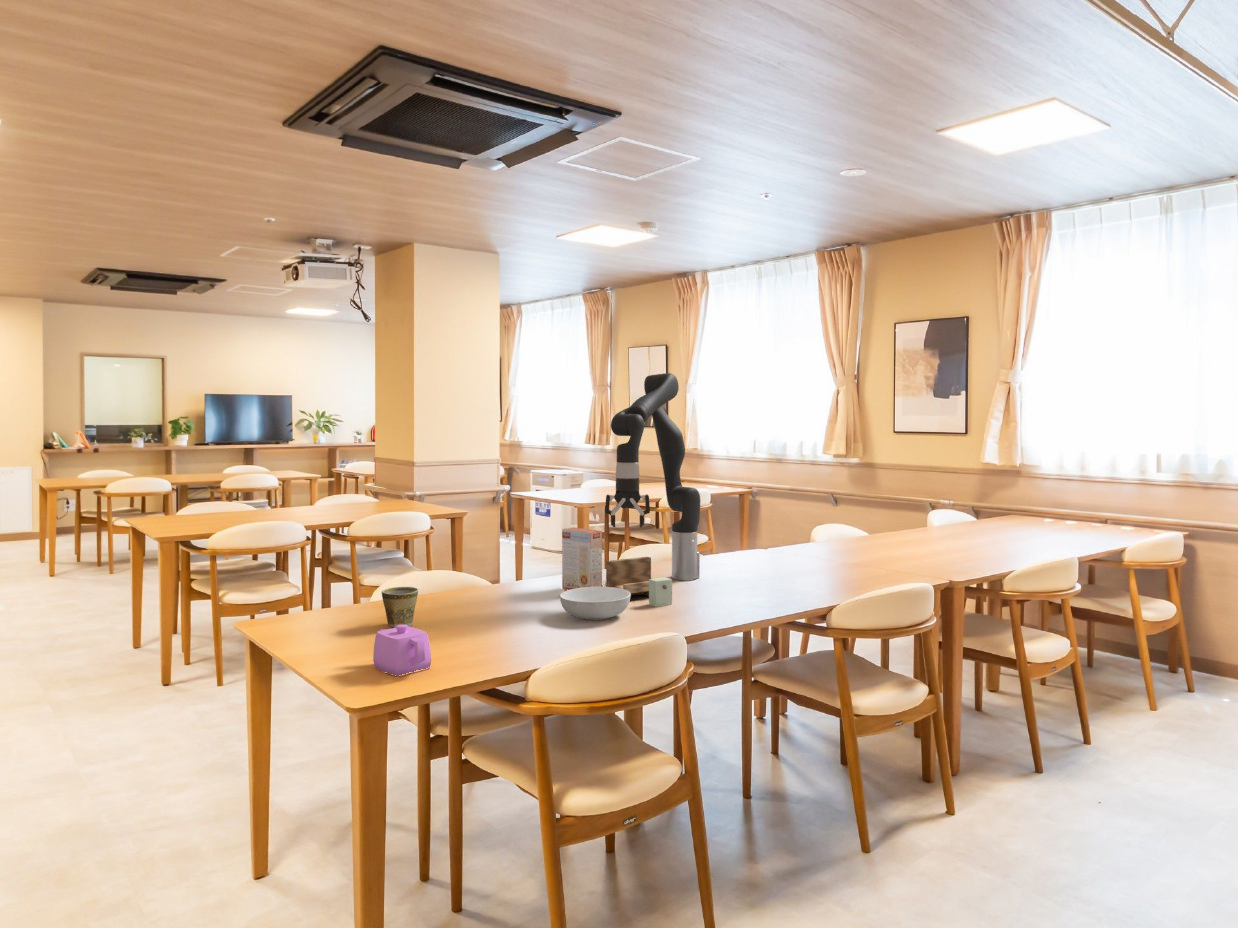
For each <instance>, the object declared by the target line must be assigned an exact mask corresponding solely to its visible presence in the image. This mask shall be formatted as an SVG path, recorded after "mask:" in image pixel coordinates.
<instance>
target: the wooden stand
mask: <svg viewBox="0 0 1238 928" xmlns="http://www.w3.org/2000/svg"><path fill="white" fill-rule="evenodd" d="M605 573H606V575H605V587H614V588H620V589H624V590H627V591H629V592H630V594H631V596H630V597H632V596H633V597H634V596H640V595H644V596H648V597H649V579H652V557H650V556H641V557H632V558H622V559H621V558H620V559H613V560H611V559H610V560H606V562H605Z"/></svg>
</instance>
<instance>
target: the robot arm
mask: <svg viewBox="0 0 1238 928" xmlns="http://www.w3.org/2000/svg"><path fill="white" fill-rule="evenodd" d="M678 381H679V380H678V378H677V376H676V375H675V374H674V373H670V372H667V373H666V372H665V373H657V374H650V375H647V376H646V377H645V378H644V384H643V387H644V388H643V389H644V394H645V395H643V396H640V397H638V398H637V399H636V400H635V401H634V402H632V404H631V405H630V406H629V407H627V408H624V409H622V410H620V411H618V412H617V413H616V414H614V416H613V417H612V419H611V421H610V429H611V431H612V433H613V434H614V435H616V436H619V437H630V438H629V439H628V441H627V442H625V443H620V444H618V445H617V446H616V467H615V494H614V495H613V494H606V495H605V509H604V512H605V514H608V515H610V525H611V527H612V528H616V513H617V512H618V511H619V510H620V508H621V509H634V508H635V509H636V511H637V512H638V513H639V528H643V526H644V525H645V515H648V514H650V513H651V507H650V496H649V494H647V493H646V494H642V495H641V494H640V476H641V475H640V464H639V459H640V458H639V451H640V445H641V441H642V436H643V434H644V430H645V423H646V421H648V419H649V418H650V417H651V419H652V420H653V425H654V426H653V427H654V431H655V435H656V436H655V437H656V441H657V446H658V447H657V448H658V450H659V455H660V459H661V465H662V470H663V477H664V483H665V494H666V502H667V505H668V507H669V508H670V509H671V510H672V511H673V512H678V513H681V517H680V520H677V521H674V522H673V523H672V525H671V579H672V580H673V579H674V580H675V581H676V580H677V581H693V580H697V579H700V561H701V560H700V558H701V556H700V555H701V554H700V551H698V530H699V529H698V528H699V524H700V518H701V494H700V492H699V491H698V489H697V488H695V487H690V486H688V487H687V486H683V484H682V479H681V468H682V465H683V463H684V462H683V461H684V459H685V456H686V446H685V441H684V435H683V433H682V431H681V429H680V428H679V427H678V426H677V424H676V423H675V422H674V421H673V420H672V419H671V418H670V416H669V415H668V414H667V412H666V411H665V409H664V405H665V404H667V403H669V401H671V400H673V399H674V398H676V396H677V395H678V392H679V390H680V389H679V387H680V386H679V382H678ZM641 499H642V502H644V503H645V504H644V505H645V510H643V509H642V508H641V507H640V505H639V504H638V503H639V502H640V500H641ZM613 500H615V502H616V504H615V506H614V507H613V509H612V510H610V503H611V502H613Z"/></svg>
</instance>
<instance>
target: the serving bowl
mask: <svg viewBox="0 0 1238 928" xmlns="http://www.w3.org/2000/svg"><path fill="white" fill-rule="evenodd" d="M631 597H632V596H631V594H630V592H629V591H627V590H624V589H620V588H614V587H606V586H602V587H583V588H576V589H571V590H564V591H562V592H561V593H560V594H559V601H560V604H561V606H562V608H563V610H564V611H565V612H566V613H567V614H569V615H571V616H573V617H576V618H579V619H583V620H588V621H603V620H607V619H610V618H612V617H613V618H614V617H615V616H618V615H620V614H622V613H623V612H625V610H626V609H627V608H628V606H629V604H630V600H631Z"/></svg>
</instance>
